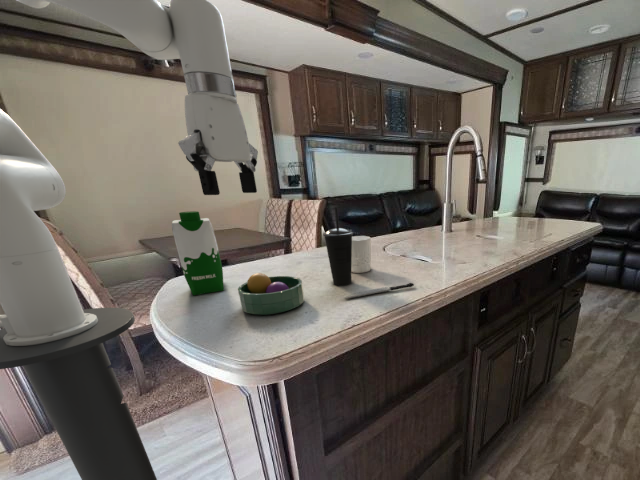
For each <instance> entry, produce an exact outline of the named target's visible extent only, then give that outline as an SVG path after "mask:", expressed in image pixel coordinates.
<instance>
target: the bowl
mask: <svg viewBox="0 0 640 480" xmlns="http://www.w3.org/2000/svg"><path fill="white" fill-rule="evenodd" d="M268 277H269V278H270V280H271V283H274V282H282V283H284V284H286V285H287V286H288V288H289V289H287V290H283V291H279V292H273V293H264V294H253V293H252V292H250V290H249V289H248V286H247V282H248V281H246V282H244V283H242V284H241V285H239V286H238V287H237V292H238V296H239V301H240V306H241V309H242V311H243V312H245V313H246V314H252V315H261V316H265V315H266V316H269V315H275V314H276V315H277V314H281V313H284V312H288V311H291V310H294V309H295V308H297V307H299V306H301V305H302V304H304V302H305V295H304V287H303V281H302V279H301V278H300V277H296V276H289V275H277V276H275V275H274V276H268Z"/></svg>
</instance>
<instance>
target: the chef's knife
mask: <svg viewBox="0 0 640 480" xmlns="http://www.w3.org/2000/svg"><path fill="white" fill-rule="evenodd" d="M414 286H415V284H414V283H412V282H408V283H406V284H400V285H395V286H390V287H389V286H388V287H387V286H383V287H378V288H374V289H369V290H364V291H359V292H356V293H353V294H351V295H348V296H346V297H344V298H343V300H344V299H345V300H346V299H352V298H358V297H363V296H368V295H373V294H378V293H384V292H389V291H397V290H400V289H401V290H402V289H406V288H412V287H414Z"/></svg>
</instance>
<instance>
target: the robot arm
mask: <svg viewBox="0 0 640 480" xmlns="http://www.w3.org/2000/svg"><path fill="white" fill-rule="evenodd" d="M15 1H16V2H18V3H21V4H23V5H25V6H28V7H31V8H33V9H45V8H46V7H48V6H49V5H50V4H53V5H57V6H60V7H62V8H65V9H67V10H70V11H72V12H75V13H77V14H79V15H81V16H84V17H86V18H89V19H90V20H93V21H95V22H98V23H100V24H101V25H105V26H107V27H108V28H111V29H113V30H114V31H116V32H117V33H119V34H120V35H121V36H122V37H124V38H125V39H127V40H128V41H129V42H130V43H132V45H134V46H135V47H136V48H137V49H139V50H140V51H141V52H142V53H144V54H145V55H147V56H149V57H151V58H153V59H155V60H156V59H157V60H163V61H169V60H179V59H180V64H181V69H182V73H183V78H184V81H185V87H186V91H187V95H184V117H185V125H186V132H187V133H186V134H187V136H185V137H184V138H182V139H180V140H178V143H177V144H178V146H179V148H180V149H181V152H182V153H183V154H184V155H185V158H186V160H187V162H189V163H190V164H191V166H193V170H194V171H195V172H197V173H198V177H199V181H200V185H201V190H202V194H203V195H204V196H219V195H220V194H221V192H220V188H219V187H220V186H219V183H218V177H217V174H216V171H215V170H212V169H213V168H214V165H215V163H216V162H220V163H232V162H234V164H235V165H236V167H238V169H239V170H240V172H238V176H239V181H240V187H241V191H242V193H243V194H256V193H257V191H258V189H257V183H256V178H255V177H256V176H255V172H256V166H257V164H258V155H259V152H258V149H257V148H256V147H254V146H253V145H252V144H251V143H249V137H248V133H247V129H246V125H245V122H244V121H245V120H244V118H243V114H242V110H241V108H240V105H239V103H238V98H237V93H236V87H235V82H234V76H233V71H232V66H231V65H232V64H231V60H230V53H229V47H228V43H227V35H226V30H225V24H224V20H223V16H222V14H221V11H220V9H218V7H217V6H216V5H215V4H213V3H212V2H211V1H209V0H170V1H169V7H167V6H165V5H163V4H161V3H160V2H159V1H158V0H15ZM66 193H67V190H66V185H65V182H64V180H63V178H62V176H61V174H60V173H59V172H58V171H57V169H56V167H54V165H53V164H52V163H51V162H50V160H49V159H47V157H46V155H44V153H42V152H41V150H40V149H39V148H38V147H37V146H36V144H35V143H34V142H33V141H32V140H31V139H30V137H28V135H27V134H26V133H25V132H24V130H22V128H21V127H20V126H19V125H18V123H17V122H15V120H13V119H12V117H11V116H9V115H8V114H7V113H6V112H5V111H3V109H1V108H0V306H1V309H2V311H3V313H4V314H0V329H4V328H5V329H6V331H7V334H6V335H5V336H4V337H3V339H4V341H5V343H6V344H7V345H10V346H29V345H37V344H42V343H47V342H52V341H56V340H60V339H63V338H67V337H70V336H73V335H76V334H79V333H81V332H84V331H86V330H88V329H90V328H91V327H93V326H94V325H96V324H97V322H98V319H97V316H96V315H94V314H89V313H84V311H83V310H84V309H83V307H82V304H81V301H80V300H79V297H78V294H77V292H76V289H75V286H74V285H73V282H72V280H71V277H70V275H69V272H68V270H67V267H66V265H65V261H64V260H63V257H62V255H61V252H60V249H59V248H58V245H57V243H56V241H55V238H54V236H53V234H52V233H51V231H50V230H49V228H48V227H47V225H46V224H45V223H44V221H43V220H42V219H41V218H40V217H39V216H38V215H37V213H36V212H38V211H45V210H49V209H53V208H56V207H57V206H59V205H60V204H62V202H63V201H64V200H65V197H66Z"/></svg>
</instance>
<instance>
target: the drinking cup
mask: <svg viewBox="0 0 640 480" xmlns="http://www.w3.org/2000/svg"><path fill="white" fill-rule="evenodd" d="M334 218H335V228H330V229H328V230H327V231H325V232H323V233H322V236H323V237H324V241H325V246H326V251H327V257H328V262H329V267H330V272H331V277H332V282H333V285H334V286H348V285H350V284H352V272H351V267H352V237H353V235H354V232H353V231H351V230H349V229H347V228H343V227H340V225H339V224H340V223H339V211H338V207H334Z"/></svg>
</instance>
